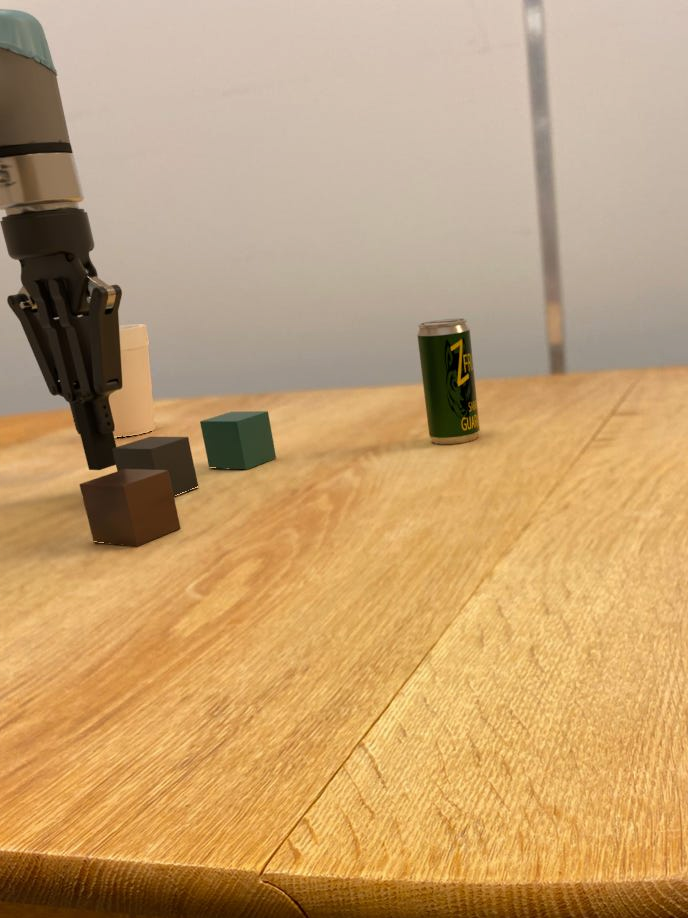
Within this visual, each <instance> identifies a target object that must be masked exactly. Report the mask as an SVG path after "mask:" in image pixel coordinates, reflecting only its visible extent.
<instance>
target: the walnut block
mask: <svg viewBox="0 0 688 918" xmlns="http://www.w3.org/2000/svg"><path fill="white" fill-rule="evenodd" d="M78 485H79V488H80V492H81V497H82V500H83V505H84V509H85V511H86V516H87V517H86V518H87V521H88V525H89V529H90V532H91V537H92V540H93V542H94V541H97V542H104V543H111V544H110V545H113V544H123V545H122V546H126V545H130V546H129V547H139V546H142V545H144V544H147V543H149V542H151V541H154V540H156V539H158V537H159V538H162V537H164V536H166V535H168V534H171V533H173V532H176V531H178V530H180V529H181V524H180V519H179V518H180V517H179V514H178V509H177V503H176V501H175V500H176V499H175V497H174V495H173V490H172V486H171V481H170V476H169V472H168V470H145V469H123V470H120V471H117V470H116V471H115V472H111V473H108V474H105V475H101V476H99V477H97V478H94V479H90V480H87V481H84V482H82V483H79V484H78ZM170 532H171V533H170ZM153 539H154V540H153ZM146 542H147V543H146ZM131 545H132V546H131Z"/></svg>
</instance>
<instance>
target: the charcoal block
mask: <svg viewBox="0 0 688 918" xmlns="http://www.w3.org/2000/svg"><path fill="white" fill-rule="evenodd" d="M112 451H113V455H114V459H115V463H116V465H115V467H116V472H117V471H120V470H123V469H145V470H168V472H169V476H170V481H171V486H172V490H173V495H174V496H175V495H177V494H180V493H182V492H185V491H188V490H190V489H192V488H195V487H197V486H198V487H199V483H198V477H197V474H196V473H197V472H196V467H195V463H194V458H193V454H192V448H191V443H190V438H189V436H148V437H145V438H141V439H137V440H134V441H132V442H128V443H125V444H122V445H119V446H116V447H115V448H112Z"/></svg>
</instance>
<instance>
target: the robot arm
mask: <svg viewBox="0 0 688 918" xmlns="http://www.w3.org/2000/svg"><path fill="white" fill-rule="evenodd" d="M44 30H45V29H44V28H43V25H42V24H41V22H40V21H39V19H37V17H35V16H33V14H30V13H28V12H27V11H23V10H19V9H18V10H17V9H10V8H9V9H8V8H0V211H5V215H6V216H2V217H1V220H0V226H1V230H2V235H3V238H4V242H5V246H6V250H7V253H8V256H9V257H10V258H11V259H12V260H15V261H18V262H19V265H20V282H21V285H22V286H21V287H20V289H19V291H18V292H17V293H16V294H11V295H8V296H7V299H6V300H7V301H6V303H7V305H8V306H9V307H10V309H11V311H12V312H13V313H14V315H15V317H16V318H17V319H18V320H19V322H20V326H21V327H22V329H23V332H24V334H25V337H26V340H27V342H28V344H29V346H30V348H31V352H32V353H33V355H34V358H35V360H36V363H37V365H38V368H39V370H40V373H41V375H42V377H43V379H44V382H45V384H46V387H47V389H48V391H49V393H50V394H51V395H52V396H54V397H55V396H60V397H62V398H63V399H64V400H65V401H66V402H67V403H69V407H70V412H71V415H72V419H73V423H74V427H75V430H76V432H77V434H78V435H80V439H81V443H82V448H83V452H84V455H85V459H86V462H87V463H86V464H87V468H88V470H89V471H101V470H104V469H107V468H110V467H113V466H116V463H115V459H114V455H113V451H112V448H115V447H117V443H116V440H115V439H116V438H115V439H114V435H113V431H114V430H115V425H114V421H113V417H112V412H111V408H110V404H109V396H110V394H112V393H113V392H115V391H117V390H120V389H121V388H122V368H121V351H120V334H119V326H120V320H119V319H120V318H119V310H120V305H121V301H122V296H123V290H122V288H121V286H120V285H119V284H111V285H110V284H107V283H106V282H104V281H103V280H102V279H101V278H99V276H98V275H99V274H98V271H97V268H96V267H95V265H94V263H93V262H92V260H91V258H90V252H91V251H93V250H94V249H95V241H94V236H93V231H92V227H91V222H90V219H89V215H88V212H87V211H85V208H80V205H79V203H82V202H83V201H84V200H85V194H84V192H83V187H82V183H81V179H80V174H79V171H78V166H77V162H76V158H75V154H74V152H73V148H72V144H71V141H70V135H69V131H68V126H67V121H66V120H67V119H66V116H65V111H64V107H63V102H62V97H61V93H60V88H59V83H58V82H59V81H58V71H57V70H56V68H55V64H54V62H53V58H52V54H51V50H50V47H49V44H48V39H47V37H46V34H45V31H44Z"/></svg>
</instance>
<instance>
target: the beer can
mask: <svg viewBox="0 0 688 918" xmlns="http://www.w3.org/2000/svg"><path fill="white" fill-rule="evenodd" d="M417 324H418V325H417V326H418V331H417V334H416V336H417V343H418V352H419V361H420V369H421V377H422V387H423V394H424V395H423V396H424V403H425V412H426V420H427V429H428V435H429V437H430V440H431V441H432V443H434V444H436V445H457V444H464V443H469V442H472V441H474V440H476V439H478V437H479V434H480V430H481V427H480V421H479V420H480V418H479V408H478V398H477V389H476V381H475V379H476V378H475V369H474V368H475V367H474V360H473V359H474V358H473V349H472V341H471V339H472V338H471V330H470V327H469V326H468V324H467V318H446V319H445V318H444V319H436V320H429V321H425V322H420V323H417Z"/></svg>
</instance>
